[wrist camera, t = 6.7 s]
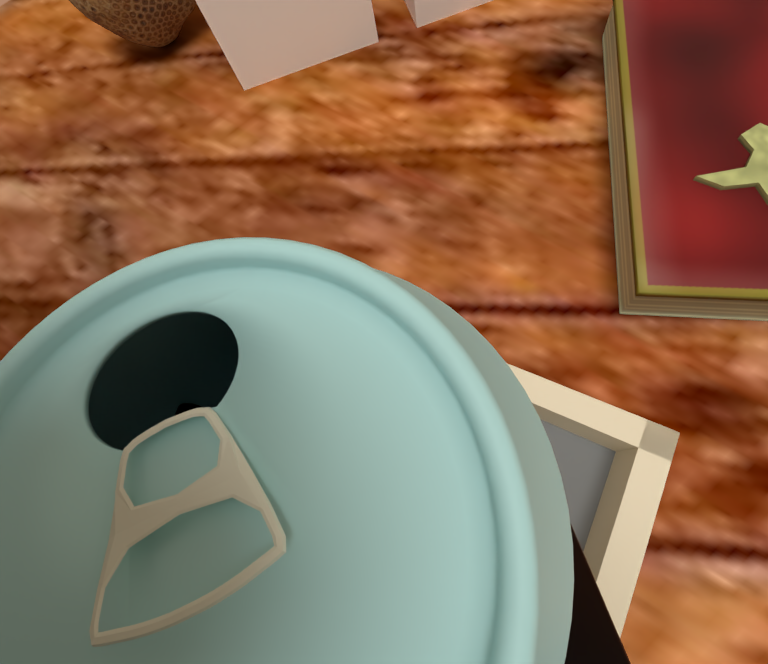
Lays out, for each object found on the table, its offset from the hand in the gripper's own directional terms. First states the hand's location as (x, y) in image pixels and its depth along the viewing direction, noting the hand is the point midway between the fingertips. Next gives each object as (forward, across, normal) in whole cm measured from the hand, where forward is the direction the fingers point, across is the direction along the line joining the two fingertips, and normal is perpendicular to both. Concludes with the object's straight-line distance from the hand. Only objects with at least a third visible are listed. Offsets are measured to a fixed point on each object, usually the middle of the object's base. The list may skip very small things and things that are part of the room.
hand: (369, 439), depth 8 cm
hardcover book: (+26, -8, -6) cm, 28 cm away
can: (+4, 0, +6) cm, 7 cm away
